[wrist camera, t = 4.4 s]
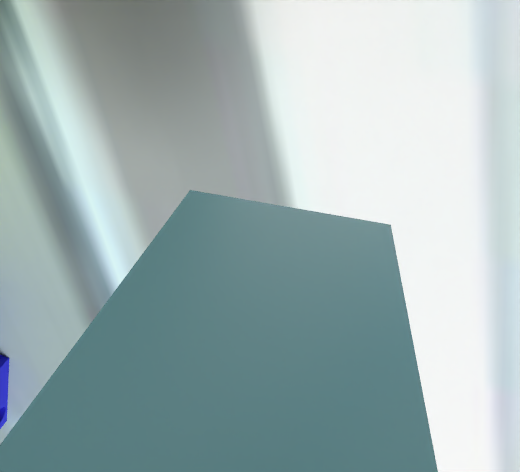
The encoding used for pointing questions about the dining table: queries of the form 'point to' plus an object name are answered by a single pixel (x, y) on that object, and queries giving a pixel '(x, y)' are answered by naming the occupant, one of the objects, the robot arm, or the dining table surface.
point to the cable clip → (3, 388)
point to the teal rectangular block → (240, 355)
